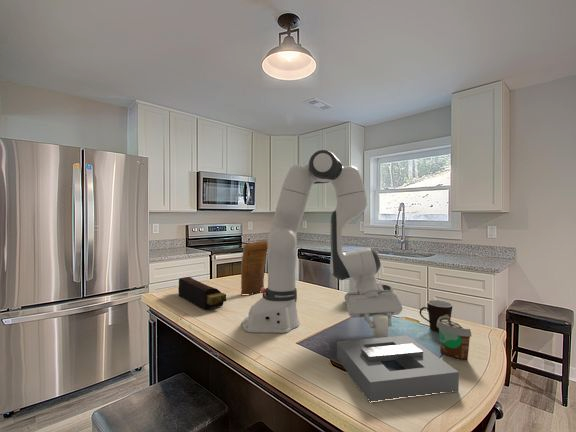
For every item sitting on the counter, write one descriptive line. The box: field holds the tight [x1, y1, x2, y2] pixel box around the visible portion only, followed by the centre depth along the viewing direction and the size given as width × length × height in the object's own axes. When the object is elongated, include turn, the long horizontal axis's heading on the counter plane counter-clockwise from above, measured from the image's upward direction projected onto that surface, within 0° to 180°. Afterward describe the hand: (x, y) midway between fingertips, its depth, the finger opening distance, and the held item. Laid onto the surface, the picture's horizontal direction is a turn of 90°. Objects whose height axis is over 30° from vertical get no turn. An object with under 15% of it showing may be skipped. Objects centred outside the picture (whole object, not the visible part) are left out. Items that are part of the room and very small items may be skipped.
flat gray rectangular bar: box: [361, 344, 423, 362], centre depth 83 cm, size 16×5×2 cm, turn 101°
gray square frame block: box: [336, 335, 460, 403], centre depth 83 cm, size 24×22×5 cm
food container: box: [437, 316, 472, 361], centre depth 95 cm, size 12×6×10 cm, turn 5°
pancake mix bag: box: [240, 240, 268, 295], centre depth 161 cm, size 7×19×28 cm, turn 136°
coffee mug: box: [418, 299, 454, 333], centre depth 114 cm, size 12×9×10 cm
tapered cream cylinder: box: [372, 314, 389, 338], centre depth 105 cm, size 5×5×8 cm
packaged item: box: [178, 276, 227, 311], centre depth 147 cm, size 39×10×10 cm, turn 41°
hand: (381, 326), depth 105 cm, fingers closed on tapered cream cylinder, 5 cm apart
